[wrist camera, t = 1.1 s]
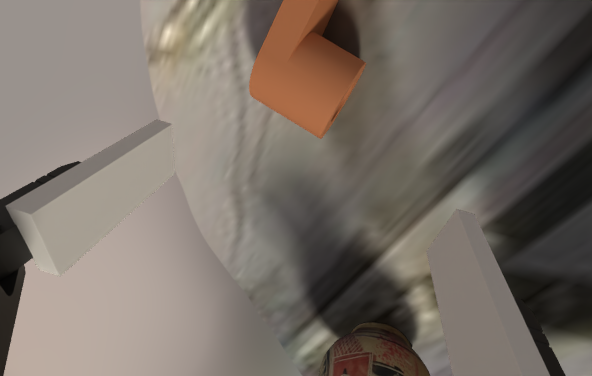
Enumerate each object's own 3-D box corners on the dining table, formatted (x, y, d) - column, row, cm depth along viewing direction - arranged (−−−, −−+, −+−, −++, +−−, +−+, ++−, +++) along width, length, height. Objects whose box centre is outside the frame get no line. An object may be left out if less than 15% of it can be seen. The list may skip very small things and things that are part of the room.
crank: (331, 126, 33) (312, 149, 26) (272, 91, 33) (239, 104, 26) (458, -93, 22) (482, -151, 15) (369, -142, 22) (355, -220, 16)
